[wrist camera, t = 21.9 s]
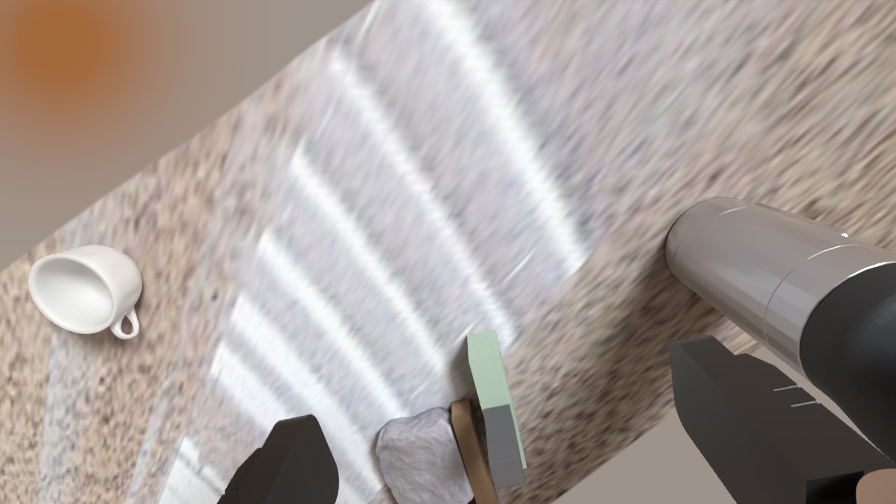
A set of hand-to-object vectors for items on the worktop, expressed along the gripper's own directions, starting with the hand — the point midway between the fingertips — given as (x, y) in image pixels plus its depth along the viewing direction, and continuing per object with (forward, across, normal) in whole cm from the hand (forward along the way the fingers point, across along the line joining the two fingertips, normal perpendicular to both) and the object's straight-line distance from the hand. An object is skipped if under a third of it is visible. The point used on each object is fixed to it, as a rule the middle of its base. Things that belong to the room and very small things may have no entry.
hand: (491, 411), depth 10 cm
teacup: (+32, +36, +2) cm, 48 cm away
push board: (+32, +2, +23) cm, 40 cm away
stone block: (+33, +12, +30) cm, 46 cm away
